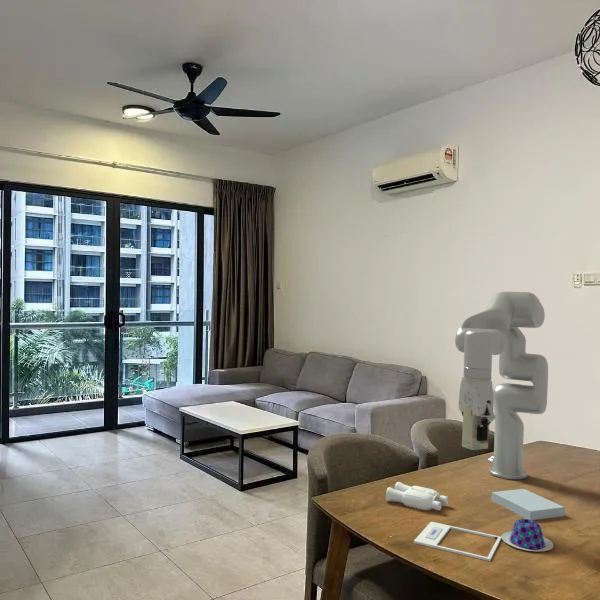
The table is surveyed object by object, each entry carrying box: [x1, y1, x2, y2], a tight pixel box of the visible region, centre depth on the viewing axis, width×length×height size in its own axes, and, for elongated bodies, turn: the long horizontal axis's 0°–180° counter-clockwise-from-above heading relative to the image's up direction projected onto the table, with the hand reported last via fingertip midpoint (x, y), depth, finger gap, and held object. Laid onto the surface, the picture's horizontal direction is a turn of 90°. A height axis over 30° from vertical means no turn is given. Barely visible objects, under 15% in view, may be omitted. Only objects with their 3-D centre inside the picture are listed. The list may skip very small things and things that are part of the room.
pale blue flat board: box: [491, 488, 565, 521], centre depth 165 cm, size 16×12×3 cm
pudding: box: [500, 518, 554, 552], centre depth 141 cm, size 12×12×5 cm
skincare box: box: [461, 404, 490, 451], centre depth 160 cm, size 6×4×12 cm
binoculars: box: [385, 481, 449, 511], centre depth 166 cm, size 10×16×5 cm, turn 56°
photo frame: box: [413, 521, 502, 562], centre depth 140 cm, size 15×1×18 cm
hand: (475, 437), depth 160 cm, fingers closed on skincare box, 4 cm apart
